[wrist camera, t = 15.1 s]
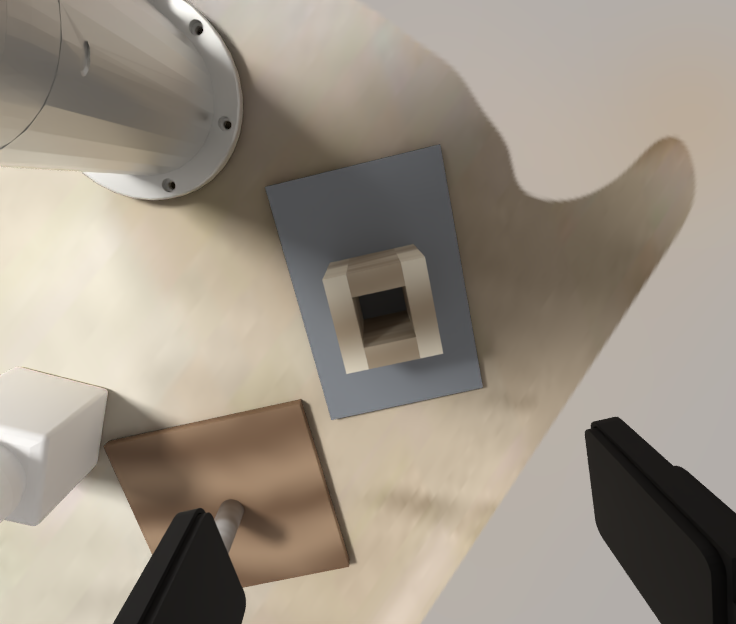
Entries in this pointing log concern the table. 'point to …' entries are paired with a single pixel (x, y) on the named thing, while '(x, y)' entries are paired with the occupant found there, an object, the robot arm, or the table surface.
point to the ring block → (387, 332)
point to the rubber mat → (370, 235)
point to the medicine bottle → (45, 440)
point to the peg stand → (238, 489)
